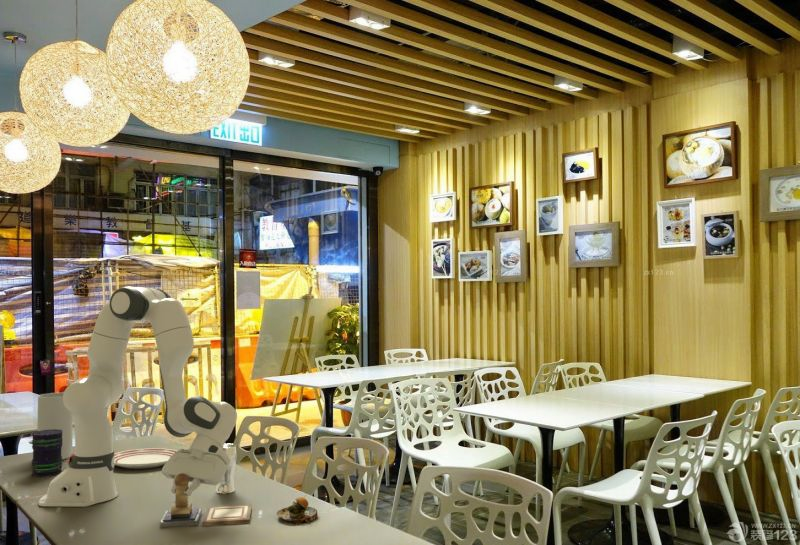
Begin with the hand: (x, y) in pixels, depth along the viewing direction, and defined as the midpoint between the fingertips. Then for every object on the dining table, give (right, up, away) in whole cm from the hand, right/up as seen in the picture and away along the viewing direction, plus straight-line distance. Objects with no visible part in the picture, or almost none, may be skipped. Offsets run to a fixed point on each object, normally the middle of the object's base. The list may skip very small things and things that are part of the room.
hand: (180, 493), depth 192 cm
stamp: (0, -6, 0) cm, 6 cm away
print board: (+13, -8, +3) cm, 15 cm away
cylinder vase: (-74, -10, +74) cm, 105 cm away
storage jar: (-65, -10, +51) cm, 83 cm away
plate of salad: (+33, -8, +3) cm, 34 cm away
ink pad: (0, -8, 0) cm, 8 cm away
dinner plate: (-36, -10, +66) cm, 76 cm away
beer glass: (+5, -9, +29) cm, 30 cm away
